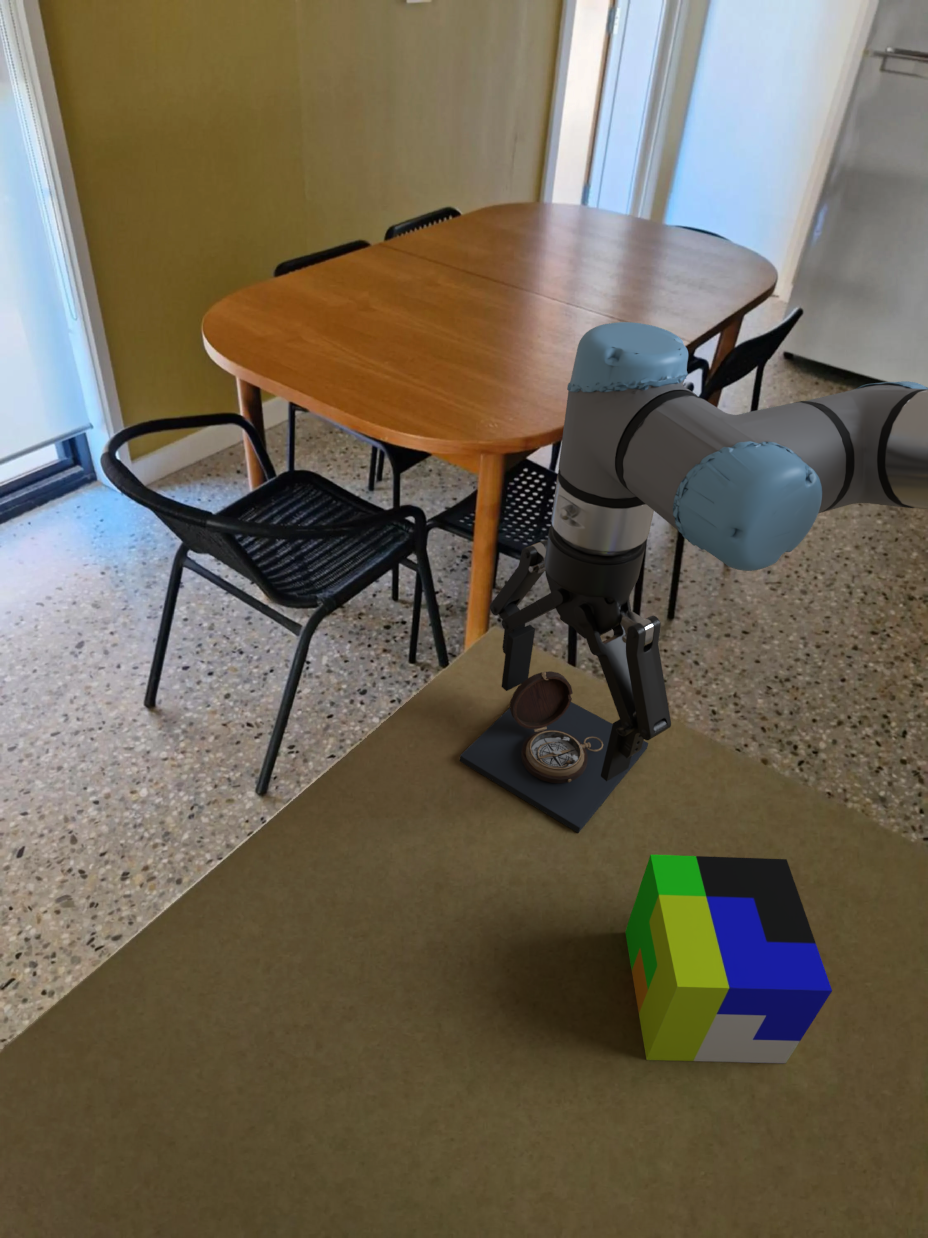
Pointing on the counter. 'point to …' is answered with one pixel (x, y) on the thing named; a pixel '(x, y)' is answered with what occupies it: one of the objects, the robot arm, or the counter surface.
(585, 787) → the mat
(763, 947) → the puzzle toy
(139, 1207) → the counter surface
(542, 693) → the compass
